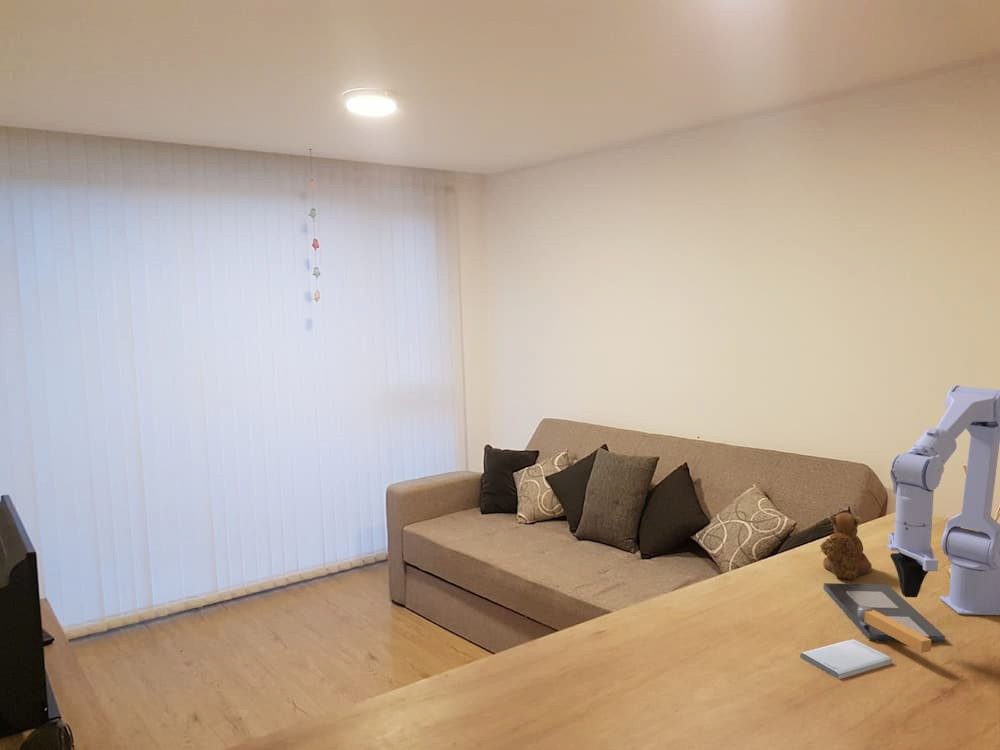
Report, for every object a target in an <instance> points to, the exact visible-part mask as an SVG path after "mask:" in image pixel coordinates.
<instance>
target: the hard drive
mask: <svg viewBox="0 0 1000 750" xmlns="http://www.w3.org/2000/svg"><path fill="white" fill-rule="evenodd" d="M799 658H800V659H802V660H804V661H806V663H807V662H808V663H809V664H811V665H812V666H814V667H816V668H818V669H820V670H821V671H823V672H825V673H827V674H829V675H830V676H832V677H833V678H835V679H838V680H841V679H845V678H848V677H851V676H855V675H858V674H861V673H864V672H867V671H871V669H872V670H874V669H877V668H881V667H885V666H888V665H891V663H892V664H893V659H892V658H891V657H890V656H889V655H887V654H885V653H883V652H881V651H879V650H876V649H875V648H872V647H870V646H869V645H866V644H864V643H862V642H860V641H858V640H856V639H854V638H853V639H848V640H844V641H841V642H836V643H832V644H829V645H826V646H822V647H818V648H814V649H810V650H807V651H804V652H800V654H799Z"/></svg>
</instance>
